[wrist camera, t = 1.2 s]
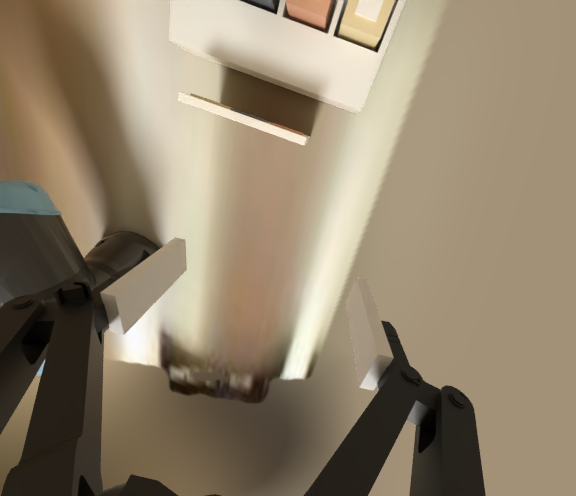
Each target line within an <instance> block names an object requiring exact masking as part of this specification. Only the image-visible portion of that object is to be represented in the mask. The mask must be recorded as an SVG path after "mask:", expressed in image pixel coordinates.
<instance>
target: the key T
mask: <svg viewBox="0 0 576 496" xmlns="http://www.w3.org/2000/svg"><path fill="white" fill-rule="evenodd" d="M394 2H395V0H348V3H347V6H346V9H345V12H344V15H343V18H342V22H341V25H340V30H339V35H338V38H340V39H343V40H345V41H348V42H350V43H353V44H356V45H358V46H361V47H364V48H366V49H369V50H372V51H373V49H374V47H375V46H376V44H377V43H378V41H379V40H380V38H381V35H382V33H383V30H384V28H385V25H386V22H387V20H388V17H389V15H390V12H391V10H392V7H393V4H394Z"/></svg>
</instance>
